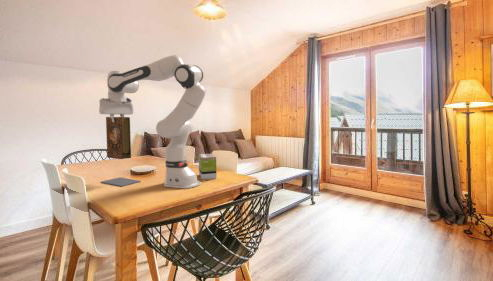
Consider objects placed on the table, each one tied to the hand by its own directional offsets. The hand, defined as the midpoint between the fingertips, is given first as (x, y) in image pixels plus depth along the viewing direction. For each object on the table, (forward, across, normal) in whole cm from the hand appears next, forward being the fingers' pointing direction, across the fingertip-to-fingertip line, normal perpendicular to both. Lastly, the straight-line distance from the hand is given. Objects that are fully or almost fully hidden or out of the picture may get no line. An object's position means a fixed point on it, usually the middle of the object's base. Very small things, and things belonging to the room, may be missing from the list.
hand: (117, 122), depth 156 cm
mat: (+37, 0, -1) cm, 37 cm away
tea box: (+38, +38, -38) cm, 66 cm away
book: (+22, 0, 0) cm, 22 cm away
